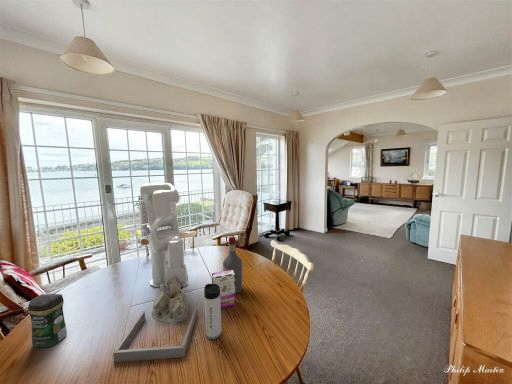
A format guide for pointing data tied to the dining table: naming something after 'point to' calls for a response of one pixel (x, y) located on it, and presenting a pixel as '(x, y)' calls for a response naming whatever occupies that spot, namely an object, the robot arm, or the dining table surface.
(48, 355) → the dining table surface
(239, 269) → the liquor
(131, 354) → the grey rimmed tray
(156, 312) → the ceramic cottage
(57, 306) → the coffee jar
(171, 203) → the robot arm
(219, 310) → the travel mug
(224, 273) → the candy bar box
